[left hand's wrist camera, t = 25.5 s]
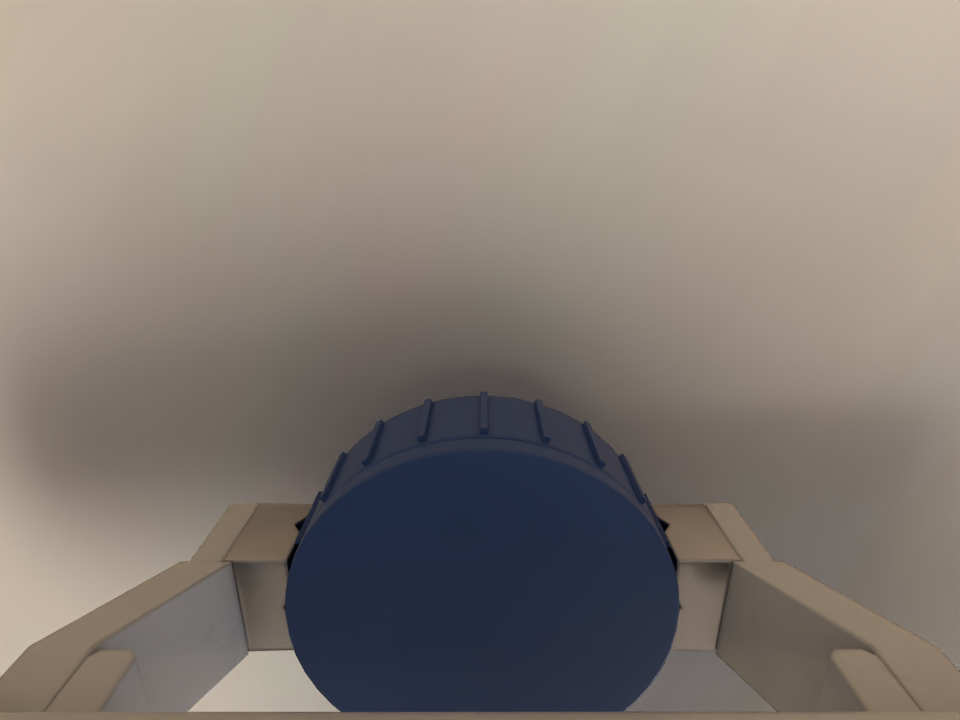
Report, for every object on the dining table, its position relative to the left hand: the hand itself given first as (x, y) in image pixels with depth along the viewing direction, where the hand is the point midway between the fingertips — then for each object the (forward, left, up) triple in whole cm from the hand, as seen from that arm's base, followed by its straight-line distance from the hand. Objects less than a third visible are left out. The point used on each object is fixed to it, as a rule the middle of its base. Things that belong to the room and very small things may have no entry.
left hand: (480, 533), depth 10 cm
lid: (0, 0, +2) cm, 2 cm away
